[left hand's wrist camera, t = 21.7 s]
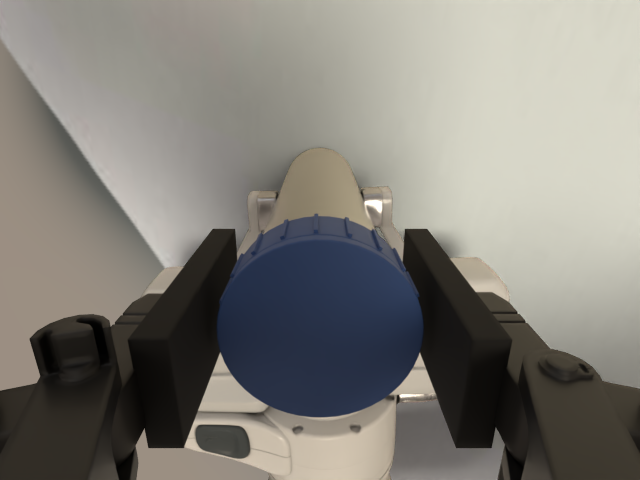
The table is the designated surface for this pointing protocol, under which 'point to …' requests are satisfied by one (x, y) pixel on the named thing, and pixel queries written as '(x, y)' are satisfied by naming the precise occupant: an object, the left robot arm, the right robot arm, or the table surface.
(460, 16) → the table surface
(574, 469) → the left robot arm
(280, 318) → the lid
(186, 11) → the table surface
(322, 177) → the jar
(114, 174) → the table surface
